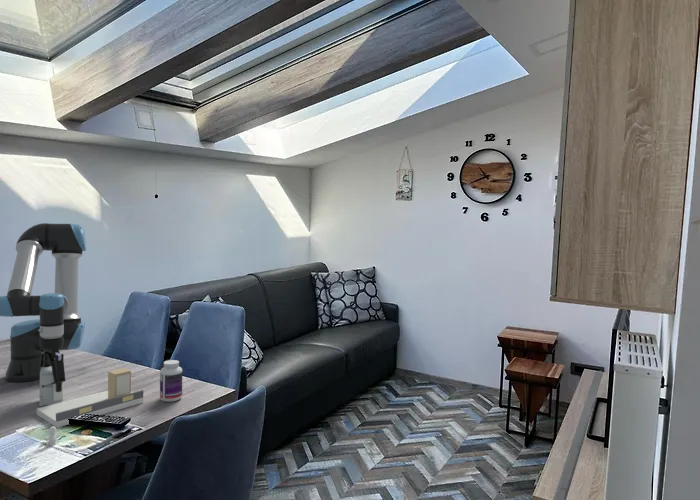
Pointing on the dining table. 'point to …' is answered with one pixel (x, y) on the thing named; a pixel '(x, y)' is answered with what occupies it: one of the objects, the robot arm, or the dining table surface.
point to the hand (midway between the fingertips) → (51, 396)
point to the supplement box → (47, 387)
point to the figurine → (51, 437)
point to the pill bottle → (171, 381)
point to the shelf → (87, 406)
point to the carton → (119, 382)
